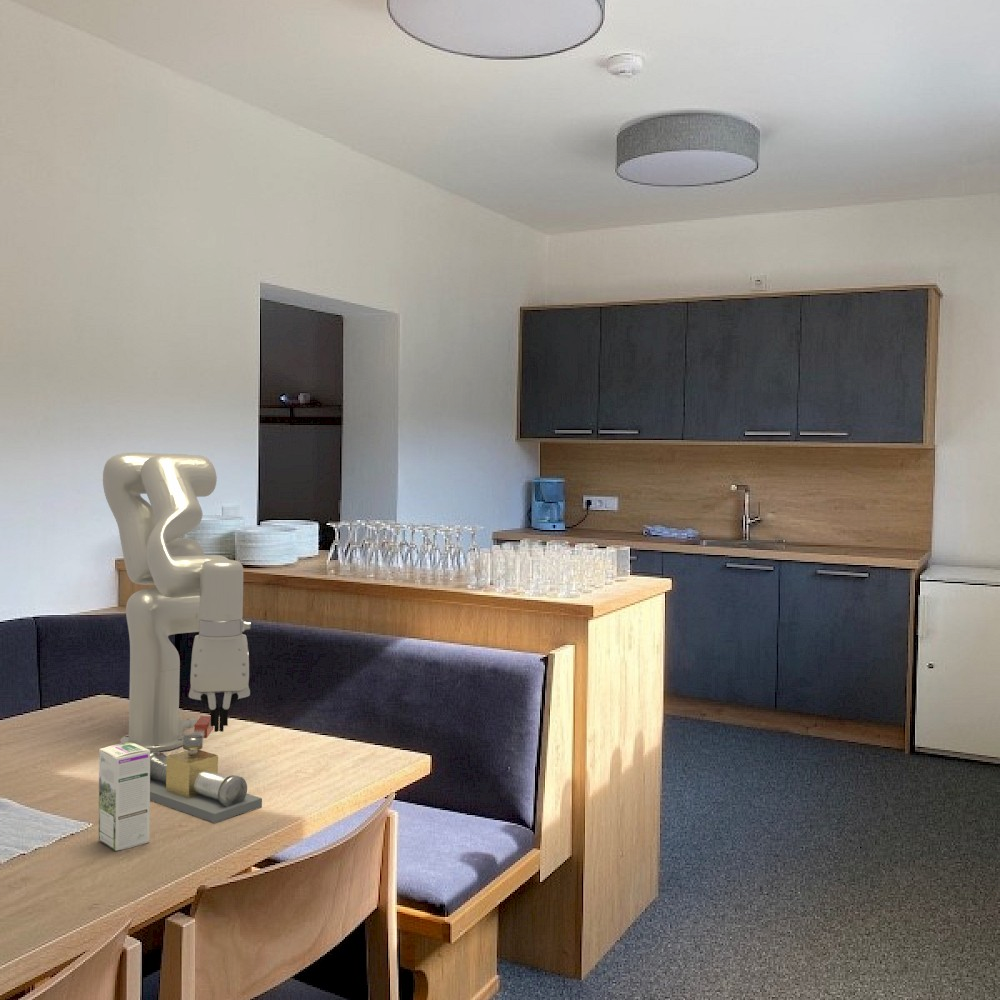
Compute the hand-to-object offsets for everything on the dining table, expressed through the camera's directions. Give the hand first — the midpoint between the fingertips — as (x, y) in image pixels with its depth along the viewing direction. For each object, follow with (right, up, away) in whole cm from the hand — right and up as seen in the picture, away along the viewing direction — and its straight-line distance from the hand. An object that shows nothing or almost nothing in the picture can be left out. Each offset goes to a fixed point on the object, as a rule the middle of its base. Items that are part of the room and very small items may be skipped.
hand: (219, 729), depth 186 cm
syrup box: (-7, -11, -29) cm, 32 cm away
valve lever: (-2, -2, -4) cm, 5 cm away
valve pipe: (-2, -10, -9) cm, 14 cm away
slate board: (-2, -10, -9) cm, 14 cm away
